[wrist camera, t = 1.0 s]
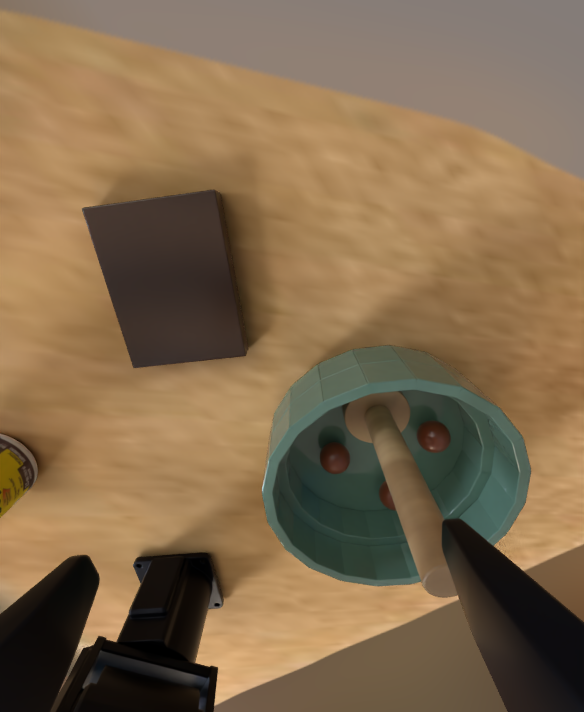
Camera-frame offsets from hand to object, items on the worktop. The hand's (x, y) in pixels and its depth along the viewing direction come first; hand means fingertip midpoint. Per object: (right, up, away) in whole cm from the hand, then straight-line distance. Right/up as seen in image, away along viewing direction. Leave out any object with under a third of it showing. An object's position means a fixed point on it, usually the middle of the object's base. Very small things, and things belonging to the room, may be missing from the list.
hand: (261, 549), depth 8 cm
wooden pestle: (+6, +2, +13) cm, 14 cm away
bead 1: (+4, -2, +13) cm, 14 cm away
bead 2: (+8, -5, +14) cm, 17 cm away
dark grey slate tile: (-6, +9, +11) cm, 15 cm away
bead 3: (+10, 0, +12) cm, 16 cm away
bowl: (+6, -1, +15) cm, 16 cm away
